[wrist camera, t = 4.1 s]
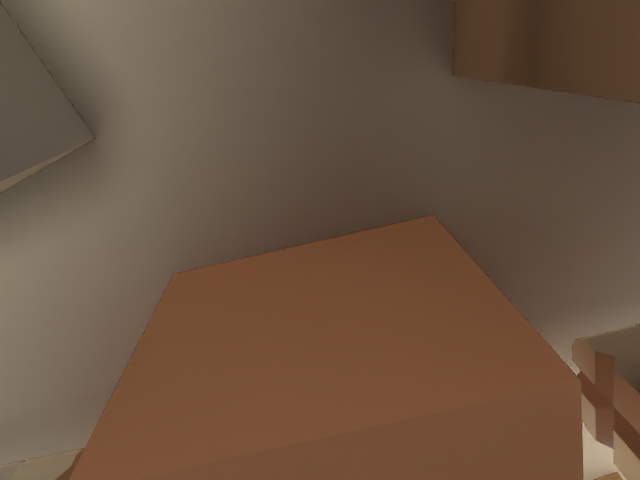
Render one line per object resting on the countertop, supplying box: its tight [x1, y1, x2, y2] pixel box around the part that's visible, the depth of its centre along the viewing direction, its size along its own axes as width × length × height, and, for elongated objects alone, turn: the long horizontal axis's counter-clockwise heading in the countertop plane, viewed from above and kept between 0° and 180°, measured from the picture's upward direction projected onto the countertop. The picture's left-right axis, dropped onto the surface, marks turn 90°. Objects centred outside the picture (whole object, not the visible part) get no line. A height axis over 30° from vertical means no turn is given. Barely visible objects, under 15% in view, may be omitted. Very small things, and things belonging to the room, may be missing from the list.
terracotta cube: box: [69, 215, 583, 480], centre depth 8 cm, size 5×5×5 cm
